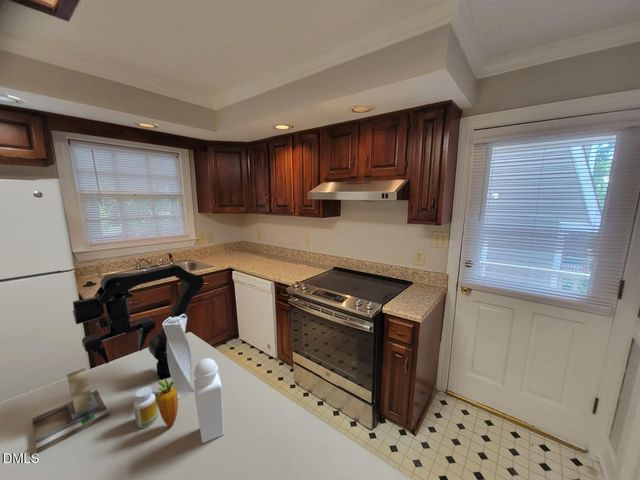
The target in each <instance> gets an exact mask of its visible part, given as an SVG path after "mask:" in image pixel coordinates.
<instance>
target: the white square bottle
mask: <svg viewBox="0 0 640 480" xmlns="http://www.w3.org/2000/svg"><path fill="white" fill-rule="evenodd" d="M194 369H195V370H194V372H193V376H194V378H195V379H194V380H193V385H194V386H193V389H194V397H195V404H196V410H197V417H198V425H199V426H198V427H199V431H200V439H201V443H202V444H204V443H207V442H209V441H212V440H214V439H216V438H219V437H221V436H224V435H225V429H224V428H225V425H224V408H223V406H224V405H223V404H224V403H223V388H222V383H221V377H220V373H219V372H218V371H219V366H218V364H217V362H216V361H215V360H214V359H213V358H209V357H207V358H203V359H201V360H199V361H198V363H197V364H196V366H195V368H194Z"/></svg>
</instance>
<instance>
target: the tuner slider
mask: <svg viewBox="0 0 640 480" xmlns="http://www.w3.org/2000/svg"><path fill="white" fill-rule="evenodd" d="M66 375H67V382H68V387H69V391H70V397H71V401H72V403H71V404H69V405H68V409H69V412H70V415H71V418H72V421H75V420H77V419H79V418H81V417H83V416H85V417H86V420H88V419H90V416H89V413H91V412H93V411H95V410H97V409H99V406H98V404H97V401H96V399H95V397H94V395H93V394H91V387H90V381H89V375H88V371H87V370H86V368H85V367H83V368H81V369H79V370H75V371H74V372H71V373H70V372H69V373H68V374H66Z"/></svg>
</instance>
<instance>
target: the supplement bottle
mask: <svg viewBox="0 0 640 480" xmlns="http://www.w3.org/2000/svg"><path fill="white" fill-rule="evenodd" d="M152 390H153V389H152V387H150V386H145V387H143V388H140V389H139V390H137V391H136V392H135V393H134V395H135V396H134V397H135V400H134V402H133V410H134V416H135V417H134V418H135V424H136V426H137V428H139V429H144V428H147V427H150V426H151V425H153V424H155V423H156V421H157V420H158V418H159V413H158V404H157V397H156V395H155V393H153V391H152Z"/></svg>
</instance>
